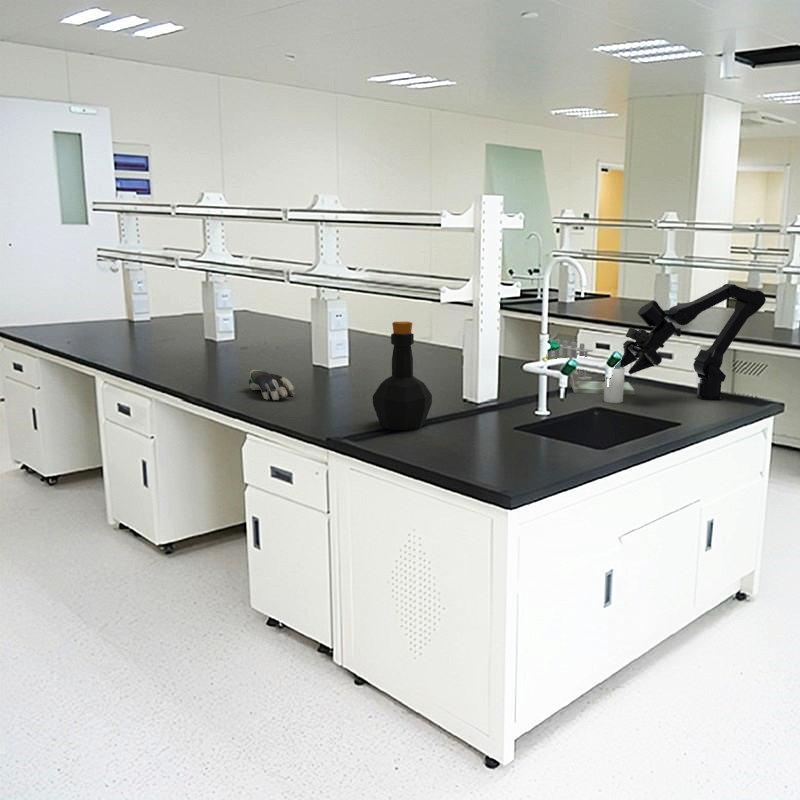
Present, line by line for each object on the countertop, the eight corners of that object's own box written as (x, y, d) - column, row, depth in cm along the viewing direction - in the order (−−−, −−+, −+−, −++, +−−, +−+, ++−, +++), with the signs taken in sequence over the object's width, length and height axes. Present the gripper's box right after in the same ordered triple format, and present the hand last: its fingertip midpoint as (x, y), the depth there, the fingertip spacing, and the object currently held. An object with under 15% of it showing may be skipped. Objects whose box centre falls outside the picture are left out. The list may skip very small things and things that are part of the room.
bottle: (398, 416, 248) (397, 317, 241) (441, 424, 237) (442, 321, 231) (362, 426, 236) (361, 322, 229) (407, 435, 225) (407, 327, 219)
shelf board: (628, 386, 293) (629, 368, 291) (634, 394, 279) (635, 375, 278) (571, 385, 295) (571, 367, 294) (574, 392, 281) (575, 374, 280)
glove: (242, 398, 286) (268, 402, 264) (242, 369, 285) (268, 371, 264) (275, 397, 292) (303, 400, 271) (275, 369, 292) (303, 370, 270)
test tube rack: (591, 379, 306) (593, 344, 304) (583, 380, 304) (584, 345, 301) (546, 369, 327) (547, 336, 324) (537, 370, 325) (539, 337, 322)
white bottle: (621, 399, 271) (623, 360, 268) (623, 403, 265) (626, 363, 263) (602, 398, 272) (604, 360, 269) (605, 402, 266) (607, 363, 263)
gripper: (630, 316, 273) (597, 349, 274) (655, 322, 255) (619, 358, 256) (651, 339, 276) (618, 372, 277) (677, 347, 258) (641, 382, 259)
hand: (623, 370), depth 267 cm, fingers open, 9 cm apart
